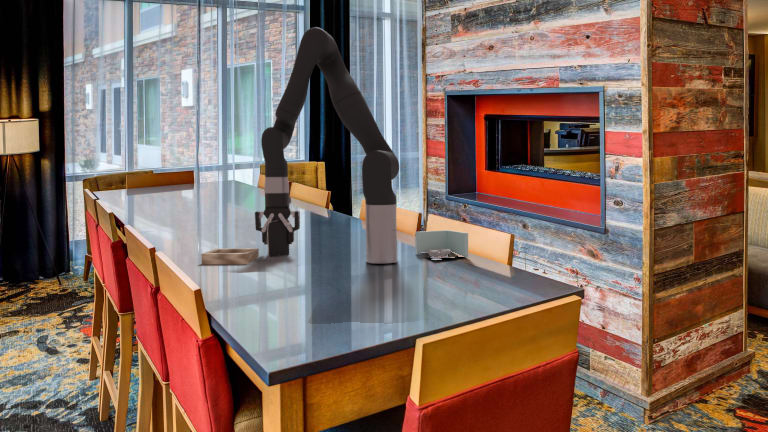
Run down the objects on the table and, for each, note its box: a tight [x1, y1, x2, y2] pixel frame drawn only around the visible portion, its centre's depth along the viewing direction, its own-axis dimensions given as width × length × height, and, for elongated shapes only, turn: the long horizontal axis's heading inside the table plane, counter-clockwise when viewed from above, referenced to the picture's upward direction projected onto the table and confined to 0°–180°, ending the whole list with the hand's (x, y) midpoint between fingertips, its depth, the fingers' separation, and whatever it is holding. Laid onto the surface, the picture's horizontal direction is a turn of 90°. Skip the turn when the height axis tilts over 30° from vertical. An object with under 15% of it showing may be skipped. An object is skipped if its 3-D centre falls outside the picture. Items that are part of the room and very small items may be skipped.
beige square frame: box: [200, 248, 260, 265], centre depth 185 cm, size 13×13×3 cm
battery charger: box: [266, 221, 290, 258], centre depth 194 cm, size 7×4×11 cm, turn 118°
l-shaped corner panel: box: [414, 229, 469, 261], centre depth 193 cm, size 12×12×8 cm
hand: (278, 244), depth 194 cm, fingers closed on battery charger, 7 cm apart
